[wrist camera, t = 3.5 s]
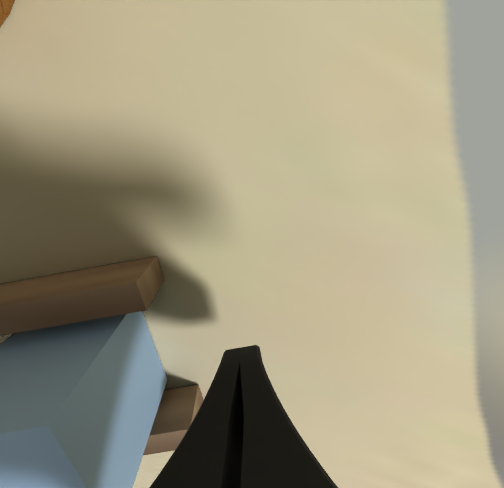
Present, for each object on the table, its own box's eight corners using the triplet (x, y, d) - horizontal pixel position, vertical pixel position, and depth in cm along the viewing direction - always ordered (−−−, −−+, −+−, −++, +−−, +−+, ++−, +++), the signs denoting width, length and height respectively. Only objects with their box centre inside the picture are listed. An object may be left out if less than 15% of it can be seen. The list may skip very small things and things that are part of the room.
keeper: (167, 379, 14) (116, 535, 8) (76, 394, 14) (-35, 558, 8) (137, 298, 12) (47, 425, 7) (34, 316, 12) (-142, 456, 7)
